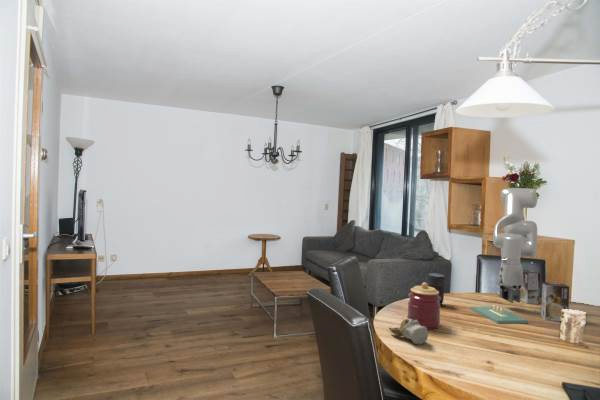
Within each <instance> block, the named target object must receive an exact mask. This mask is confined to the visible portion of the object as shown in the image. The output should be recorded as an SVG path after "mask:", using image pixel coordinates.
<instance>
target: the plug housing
mask: <svg viewBox="0 0 600 400" xmlns="http://www.w3.org/2000/svg"><path fill="white" fill-rule="evenodd" d="M504 287H505V286H504ZM499 289H500V295H498V296H499V298H501V299H503V300H504V301H507V302H508V303H511V304H514V302H516V303H521V300H520V292H521V290H519V289H517V288H514V287H512V286H508V287H507V292H508V295H507V299H504V298H502V290H501V288H499Z"/></svg>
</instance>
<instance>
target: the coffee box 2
mask: <svg viewBox="0 0 600 400" xmlns="http://www.w3.org/2000/svg"><path fill="white" fill-rule="evenodd" d="M569 301H570V286H569V285H567V284H565V283H557V282H549V281H548V282H547V281H542V282H541V307H540V317H542V318H543V319H544V320H545V321H551V322H560V317H561V310H562V309H568V310H569V308H570V305H569V304H570V302H569Z"/></svg>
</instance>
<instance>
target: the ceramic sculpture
mask: <svg viewBox="0 0 600 400" xmlns="http://www.w3.org/2000/svg"><path fill="white" fill-rule="evenodd" d="M388 329H389V330H390V331H391V333H393V334H394V335H396V336H398V337H400V336H401V337H403V338H404V339H407V340H410V341H412V343H413V344H415V345H423V344H425V343H426V342H427V340H428V337H429V332H428V330H429V329H427V328H426V327H425V326H420V324H419V322H418V320H417V319H415V318H414V317H411V319H407V318H405V319H404V320H402V321H401V323H400V326H399V327H388Z"/></svg>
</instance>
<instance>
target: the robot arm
mask: <svg viewBox="0 0 600 400" xmlns="http://www.w3.org/2000/svg"><path fill="white" fill-rule="evenodd" d="M500 201H501V205H502V206H503V209H504V213H503V215H504V216H502V217H501V218H500V219H499V220H498V221H497V222H496V223H495V225H494V228H493V235H492V243H493V245H494V247H495V248H500V254H501V255H500V256H501V258H500V262H501V264H500V266H499V273H498V280H497V281H496V283H495V285H496V286H497V288H498V290H497V291H496V294H497V295H498V296H499V295H500V288H501V290H502V298H501V299H503V298H504V299H503V300H505V299H507V295H508V292H507V287H508V286H512V287H514V288H517V289H520V288H521V286H523V285H524V282H523V270H524V269H523V265H522V264H521V258H527V259H528V258H529V259H530V258H531V259H532V258H535V257H536V256H537V254H538V253H537V252H538V226H537V223H536V222H534V221H532V220H523V219H524V218H523V217H524V208H525V209H534V208H536V206H537V204H538V194H537V191H536V189H534V188H525V187H507V188H504V189H501V191H500ZM502 229H504V232H501V230H502ZM504 286H505V287H504Z"/></svg>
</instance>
